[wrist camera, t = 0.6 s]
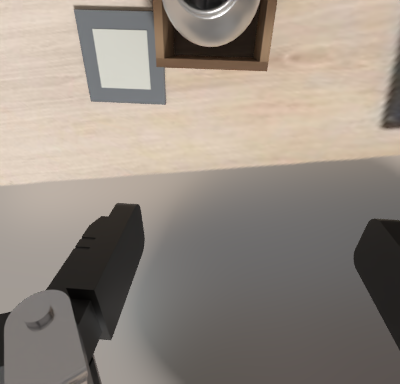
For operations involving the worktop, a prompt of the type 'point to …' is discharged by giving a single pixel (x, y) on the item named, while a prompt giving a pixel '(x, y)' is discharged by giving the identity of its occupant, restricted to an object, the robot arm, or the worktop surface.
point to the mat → (120, 56)
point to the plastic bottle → (210, 19)
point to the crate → (255, 63)
